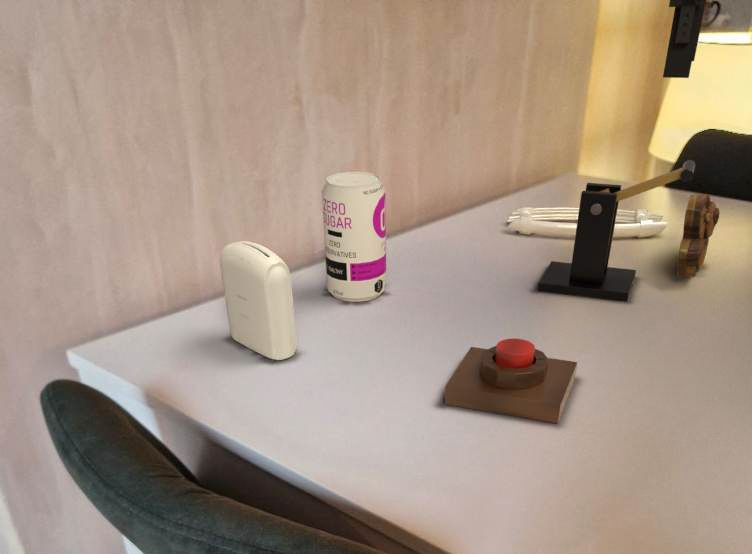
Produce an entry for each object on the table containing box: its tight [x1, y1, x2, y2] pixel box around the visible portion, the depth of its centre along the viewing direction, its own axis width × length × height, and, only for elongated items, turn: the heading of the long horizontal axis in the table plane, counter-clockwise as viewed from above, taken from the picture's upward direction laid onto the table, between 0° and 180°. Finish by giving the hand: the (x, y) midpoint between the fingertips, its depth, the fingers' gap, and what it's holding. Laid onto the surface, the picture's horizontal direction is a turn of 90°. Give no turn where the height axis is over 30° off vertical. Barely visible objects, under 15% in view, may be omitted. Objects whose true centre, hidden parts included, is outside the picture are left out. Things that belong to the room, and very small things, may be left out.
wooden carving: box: [676, 193, 720, 278], centre depth 108 cm, size 16×5×10 cm, turn 160°
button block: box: [444, 345, 578, 424], centre depth 82 cm, size 12×10×4 cm
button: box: [495, 338, 536, 369], centre depth 80 cm, size 4×4×2 cm
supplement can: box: [321, 171, 387, 303], centre depth 102 cm, size 8×8×15 cm
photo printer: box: [219, 240, 298, 361], centre depth 90 cm, size 10×4×12 cm, turn 41°
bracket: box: [537, 182, 637, 302], centre depth 103 cm, size 12×9×13 cm
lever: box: [600, 159, 696, 202], centre depth 97 cm, size 13×5×2 cm, turn 68°
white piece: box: [506, 206, 668, 239], centre depth 125 cm, size 3×10×25 cm
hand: (679, 69), depth 90 cm, fingers open, 13 cm apart
